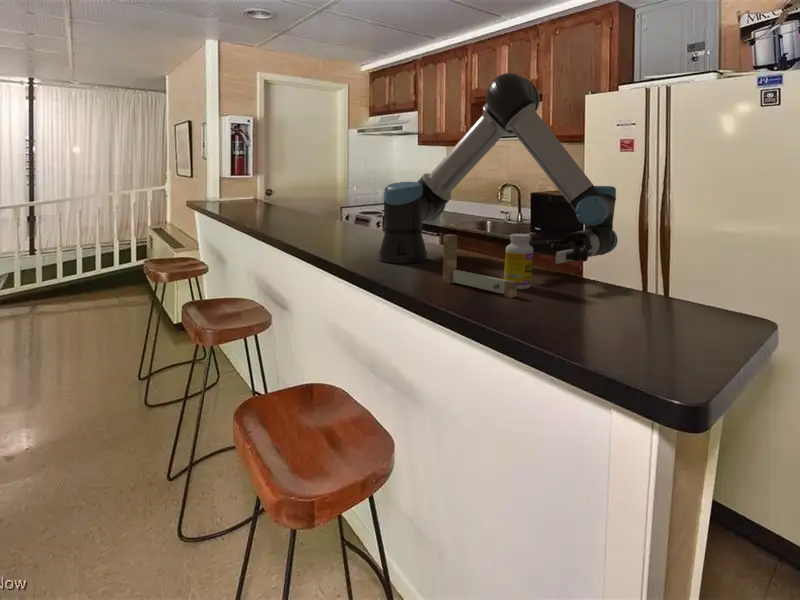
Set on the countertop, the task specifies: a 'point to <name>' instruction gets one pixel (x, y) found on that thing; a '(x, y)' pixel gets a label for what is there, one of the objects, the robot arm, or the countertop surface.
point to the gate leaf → (479, 281)
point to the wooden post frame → (451, 260)
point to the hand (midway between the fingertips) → (532, 254)
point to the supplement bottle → (519, 261)
